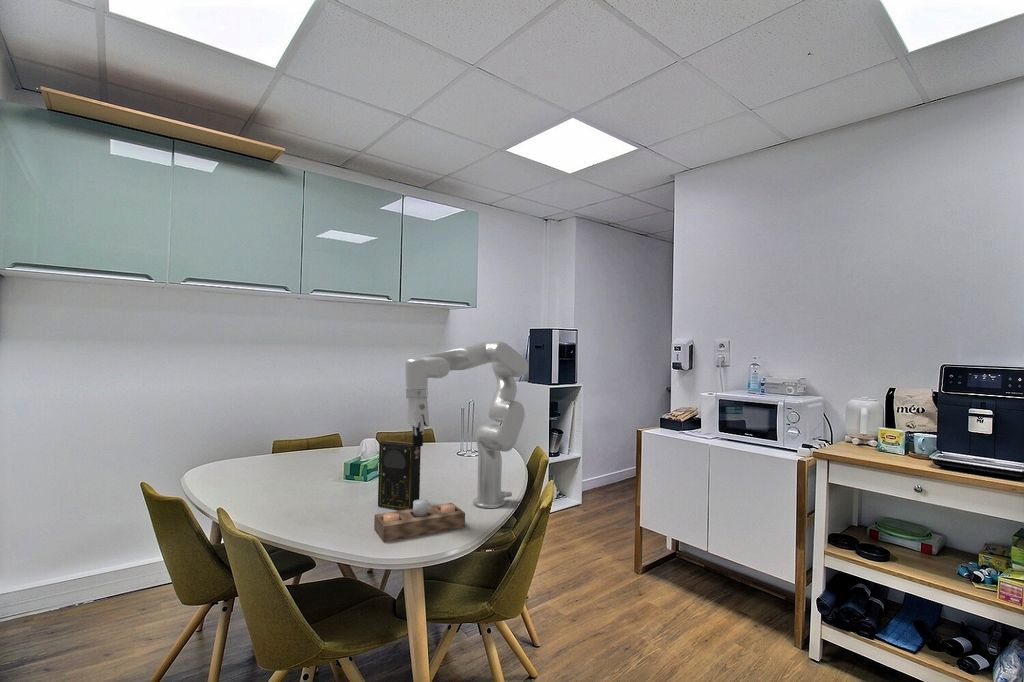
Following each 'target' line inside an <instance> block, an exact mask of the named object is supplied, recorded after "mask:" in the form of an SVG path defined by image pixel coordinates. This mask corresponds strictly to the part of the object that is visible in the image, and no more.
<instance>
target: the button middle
mask: <svg viewBox="0 0 1024 682" xmlns="http://www.w3.org/2000/svg"><path fill="white" fill-rule="evenodd" d="M428 506H429V500H427V499H424V498H419V500H415V501H413V517H414V518H417V517H423V516H428Z"/></svg>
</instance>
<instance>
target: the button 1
mask: <svg viewBox="0 0 1024 682" xmlns="http://www.w3.org/2000/svg"><path fill="white" fill-rule="evenodd" d="M386 513H387V514H385V515H384V519H383V521H384V523H386V522H393V521H399V514H398V513H388V512H386Z"/></svg>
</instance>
